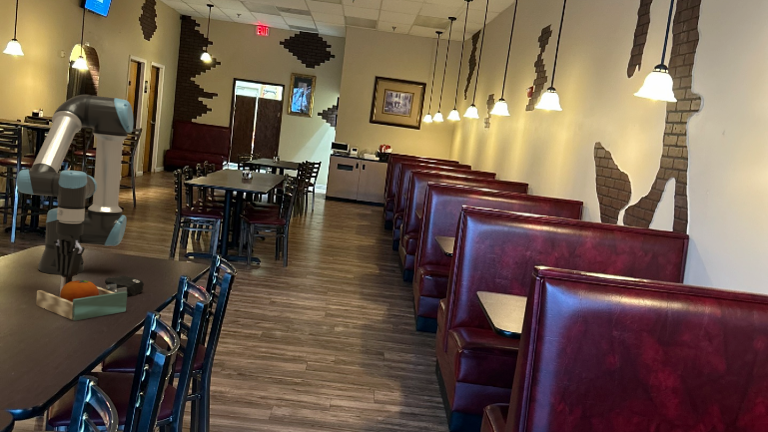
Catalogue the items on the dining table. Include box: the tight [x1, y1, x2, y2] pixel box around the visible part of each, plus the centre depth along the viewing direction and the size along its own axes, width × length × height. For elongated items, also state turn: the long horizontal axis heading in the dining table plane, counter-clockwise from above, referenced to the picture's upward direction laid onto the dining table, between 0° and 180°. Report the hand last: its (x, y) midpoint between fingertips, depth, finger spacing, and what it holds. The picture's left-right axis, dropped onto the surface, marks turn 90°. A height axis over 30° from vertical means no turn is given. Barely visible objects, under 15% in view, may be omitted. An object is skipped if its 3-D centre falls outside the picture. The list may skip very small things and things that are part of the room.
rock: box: [104, 275, 145, 297], centre depth 218 cm, size 9×10×6 cm
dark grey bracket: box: [105, 284, 127, 293], centre depth 205 cm, size 6×4×6 cm, turn 58°
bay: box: [35, 285, 128, 322], centre depth 196 cm, size 19×17×6 cm
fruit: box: [59, 279, 99, 302], centre depth 196 cm, size 11×10×8 cm
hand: (65, 296), depth 200 cm, fingers closed
